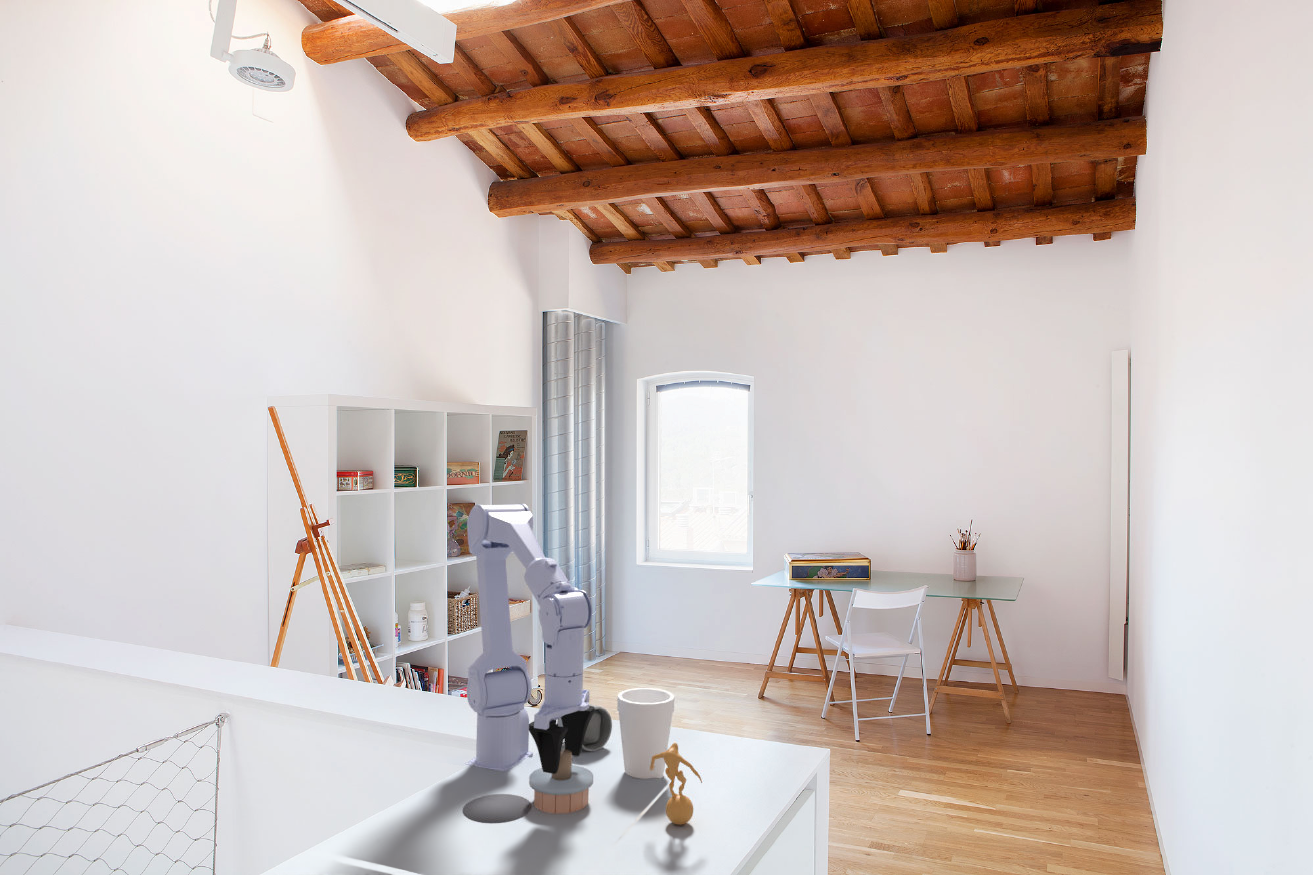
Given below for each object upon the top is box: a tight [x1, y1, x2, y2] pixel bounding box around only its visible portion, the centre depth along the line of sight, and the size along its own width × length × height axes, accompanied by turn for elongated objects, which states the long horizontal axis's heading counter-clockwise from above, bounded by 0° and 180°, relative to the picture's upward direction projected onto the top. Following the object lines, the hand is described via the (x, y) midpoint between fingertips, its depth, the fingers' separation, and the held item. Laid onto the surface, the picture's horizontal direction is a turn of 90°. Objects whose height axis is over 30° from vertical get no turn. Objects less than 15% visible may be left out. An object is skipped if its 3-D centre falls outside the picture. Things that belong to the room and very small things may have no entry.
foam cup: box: [616, 687, 675, 780], centre depth 135 cm, size 10×9×13 cm
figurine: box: [650, 742, 703, 826], centre depth 116 cm, size 8×6×12 cm
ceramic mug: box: [556, 703, 613, 752], centre depth 148 cm, size 11×8×8 cm
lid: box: [528, 750, 594, 795], centre depth 123 cm, size 10×10×4 cm
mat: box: [462, 793, 533, 824], centre depth 120 cm, size 10×10×1 cm
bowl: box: [533, 788, 590, 815], centre depth 122 cm, size 8×8×4 cm
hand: (561, 763), depth 123 cm, fingers open, 7 cm apart
